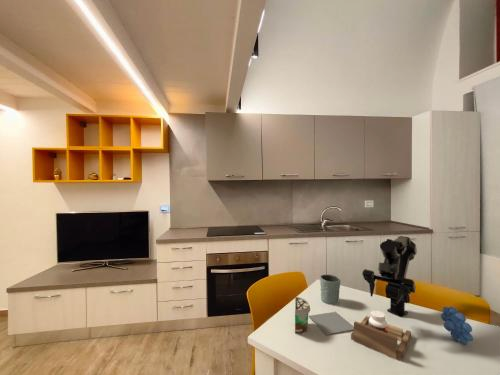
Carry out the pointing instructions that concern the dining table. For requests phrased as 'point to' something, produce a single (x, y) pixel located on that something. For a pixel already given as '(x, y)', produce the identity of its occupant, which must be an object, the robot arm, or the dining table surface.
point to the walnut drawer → (379, 339)
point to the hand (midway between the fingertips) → (383, 299)
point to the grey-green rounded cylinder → (330, 289)
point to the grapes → (456, 325)
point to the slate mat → (331, 323)
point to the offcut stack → (395, 332)
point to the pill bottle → (378, 321)
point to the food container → (301, 315)
